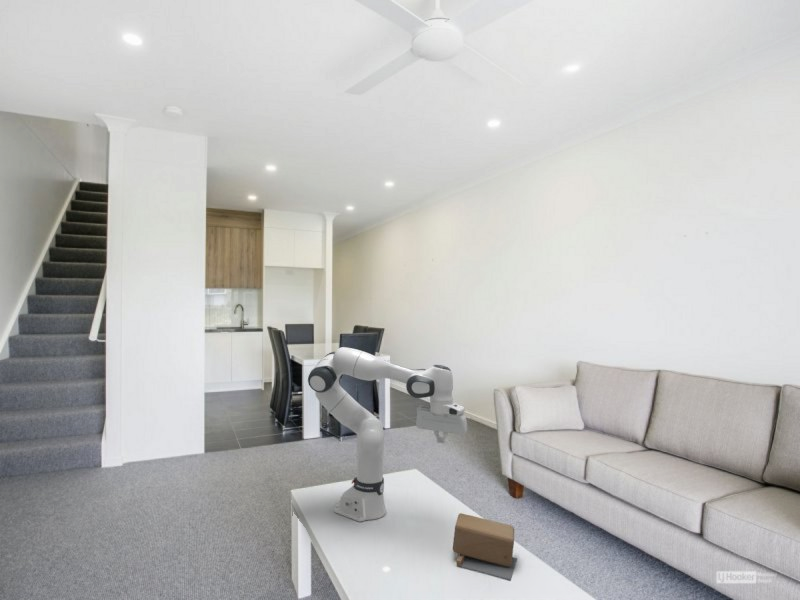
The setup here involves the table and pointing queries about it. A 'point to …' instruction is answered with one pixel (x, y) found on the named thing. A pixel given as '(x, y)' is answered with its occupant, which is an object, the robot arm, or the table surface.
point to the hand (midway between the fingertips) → (440, 442)
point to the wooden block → (484, 539)
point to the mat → (486, 567)
